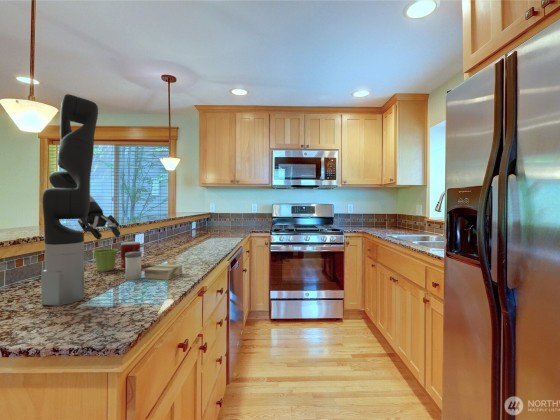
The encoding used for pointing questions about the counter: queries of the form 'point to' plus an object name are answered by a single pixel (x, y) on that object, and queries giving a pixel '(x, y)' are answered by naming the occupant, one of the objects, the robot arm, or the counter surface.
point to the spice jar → (133, 265)
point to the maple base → (163, 271)
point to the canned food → (128, 250)
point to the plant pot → (105, 259)
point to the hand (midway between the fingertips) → (109, 236)
